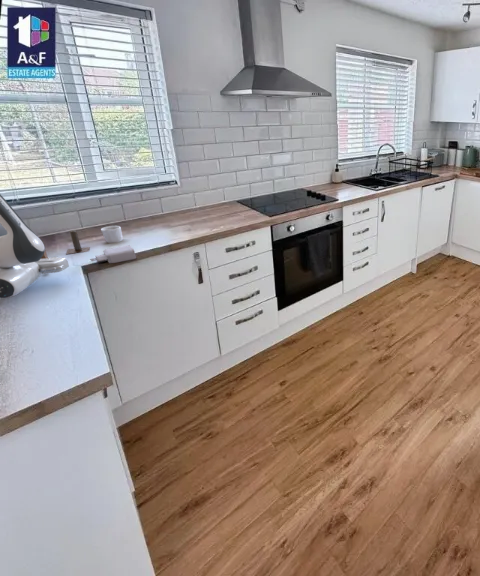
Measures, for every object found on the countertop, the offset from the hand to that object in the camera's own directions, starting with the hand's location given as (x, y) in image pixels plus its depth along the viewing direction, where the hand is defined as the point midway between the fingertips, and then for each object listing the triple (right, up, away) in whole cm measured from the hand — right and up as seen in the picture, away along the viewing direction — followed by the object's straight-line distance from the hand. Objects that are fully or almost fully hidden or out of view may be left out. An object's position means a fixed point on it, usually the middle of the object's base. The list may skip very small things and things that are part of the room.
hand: (40, 259), depth 137 cm
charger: (+14, +1, +19) cm, 23 cm away
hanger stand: (-9, +5, +28) cm, 30 cm away
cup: (-4, +11, +43) cm, 45 cm away
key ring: (-3, -3, +8) cm, 9 cm away
